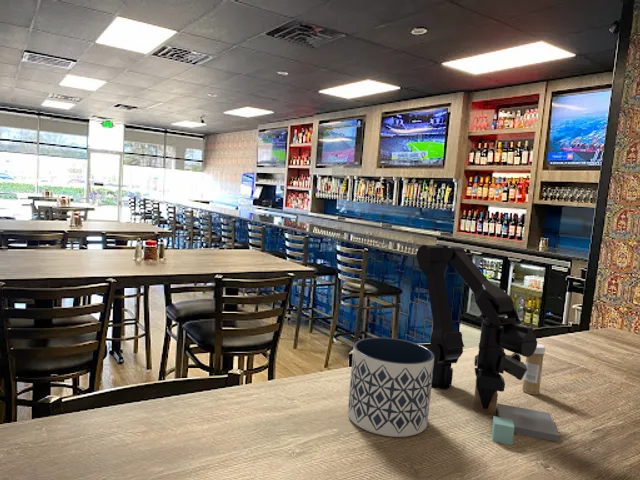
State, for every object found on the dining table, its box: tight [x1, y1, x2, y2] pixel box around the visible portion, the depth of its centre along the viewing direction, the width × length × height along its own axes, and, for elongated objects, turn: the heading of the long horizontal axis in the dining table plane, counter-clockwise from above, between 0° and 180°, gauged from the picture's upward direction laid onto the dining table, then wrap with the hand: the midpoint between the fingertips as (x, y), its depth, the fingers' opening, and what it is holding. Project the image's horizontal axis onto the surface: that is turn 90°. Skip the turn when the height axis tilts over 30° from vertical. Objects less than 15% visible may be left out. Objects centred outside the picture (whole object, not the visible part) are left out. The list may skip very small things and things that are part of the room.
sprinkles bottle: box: [521, 343, 546, 395], centre depth 134 cm, size 5×5×14 cm
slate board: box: [496, 402, 560, 443], centre depth 113 cm, size 12×12×2 cm
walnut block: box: [473, 385, 498, 415], centre depth 121 cm, size 5×5×5 cm
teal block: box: [491, 415, 515, 446], centre depth 105 cm, size 4×4×4 cm
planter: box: [347, 337, 434, 438], centre depth 110 cm, size 18×18×16 cm
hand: (484, 404), depth 121 cm, fingers open, 5 cm apart
